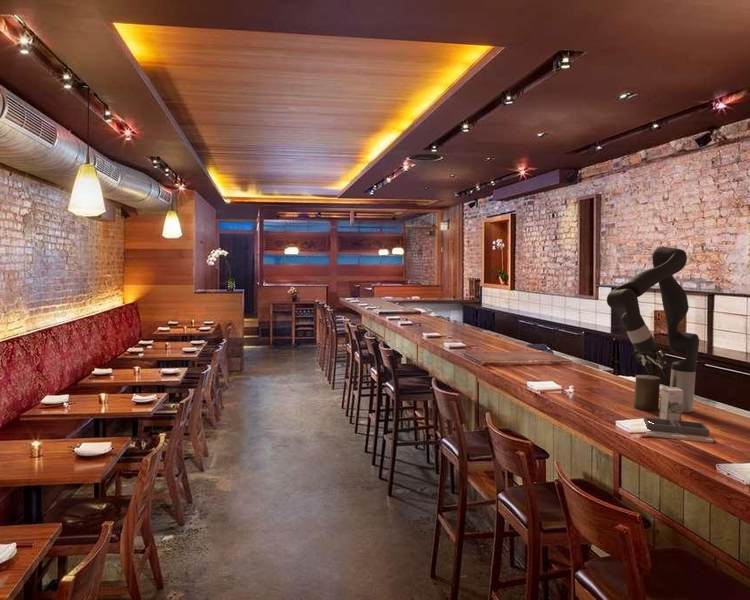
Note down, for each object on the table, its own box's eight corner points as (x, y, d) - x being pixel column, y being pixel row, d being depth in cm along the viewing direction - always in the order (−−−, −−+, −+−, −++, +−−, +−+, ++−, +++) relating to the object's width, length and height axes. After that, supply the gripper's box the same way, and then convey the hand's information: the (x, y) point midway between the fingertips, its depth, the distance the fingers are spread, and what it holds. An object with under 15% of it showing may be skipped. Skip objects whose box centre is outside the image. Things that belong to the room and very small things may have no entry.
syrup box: (672, 423, 229) (675, 386, 228) (680, 427, 223) (683, 390, 222) (658, 422, 229) (660, 386, 227) (666, 427, 223) (668, 389, 222)
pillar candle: (661, 412, 245) (663, 376, 244) (636, 410, 247) (638, 374, 246) (654, 406, 255) (657, 372, 254) (630, 404, 257) (633, 371, 256)
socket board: (641, 425, 224) (641, 416, 224) (703, 431, 218) (704, 422, 218) (646, 435, 211) (647, 426, 210) (712, 442, 205) (713, 433, 204)
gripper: (661, 332, 212) (681, 371, 214) (635, 331, 226) (653, 367, 228) (646, 343, 211) (665, 381, 212) (620, 341, 224) (639, 377, 226)
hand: (659, 374), depth 220 cm, fingers open, 8 cm apart
